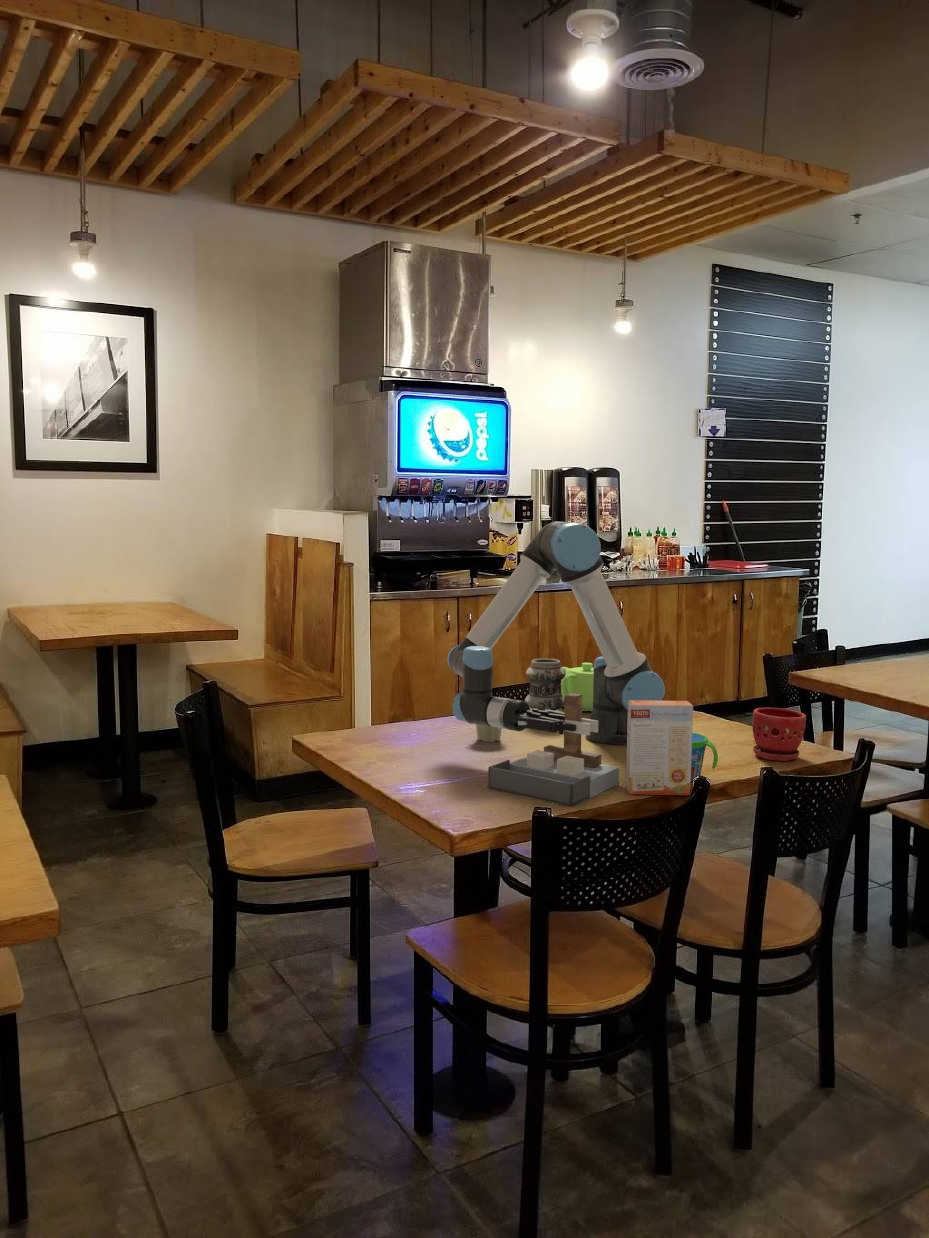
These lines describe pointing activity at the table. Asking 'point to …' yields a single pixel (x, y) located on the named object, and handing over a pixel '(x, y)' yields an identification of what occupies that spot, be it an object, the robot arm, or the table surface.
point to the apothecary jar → (545, 684)
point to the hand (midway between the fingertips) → (593, 727)
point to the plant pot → (778, 733)
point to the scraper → (574, 735)
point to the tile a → (540, 759)
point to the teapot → (579, 684)
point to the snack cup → (700, 754)
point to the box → (537, 785)
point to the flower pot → (488, 733)
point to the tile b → (570, 765)
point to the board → (599, 775)
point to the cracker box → (659, 747)
